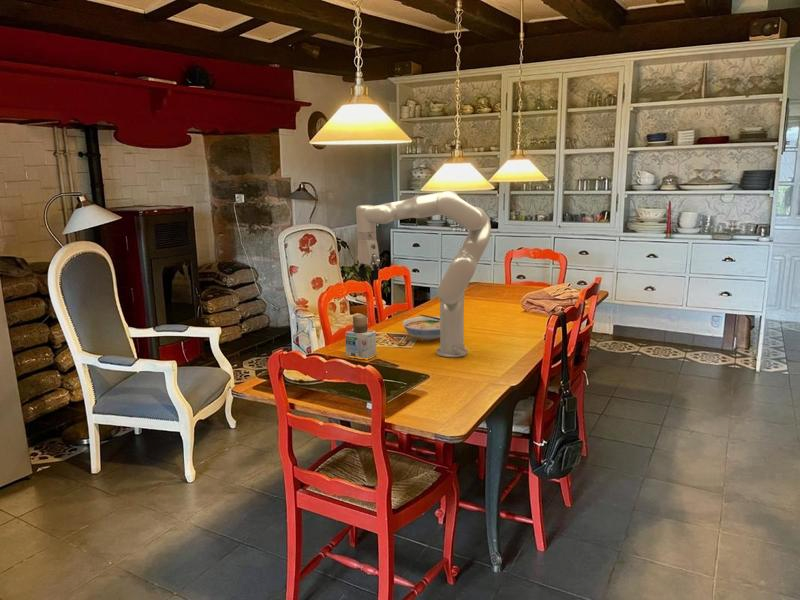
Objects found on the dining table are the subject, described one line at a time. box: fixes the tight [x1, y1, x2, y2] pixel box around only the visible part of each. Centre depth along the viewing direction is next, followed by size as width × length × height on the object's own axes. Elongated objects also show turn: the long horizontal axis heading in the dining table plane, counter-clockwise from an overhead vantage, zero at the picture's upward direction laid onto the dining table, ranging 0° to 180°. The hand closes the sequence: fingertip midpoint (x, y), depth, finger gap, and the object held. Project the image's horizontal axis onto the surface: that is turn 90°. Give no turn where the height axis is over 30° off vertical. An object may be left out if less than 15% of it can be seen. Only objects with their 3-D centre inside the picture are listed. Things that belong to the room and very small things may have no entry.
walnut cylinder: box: [352, 314, 368, 333], centre depth 234 cm, size 6×6×6 cm
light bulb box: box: [344, 328, 377, 358], centre depth 236 cm, size 11×7×11 cm, turn 62°
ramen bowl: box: [401, 314, 440, 341], centre depth 261 cm, size 25×23×8 cm
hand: (368, 278), depth 240 cm, fingers open, 9 cm apart
